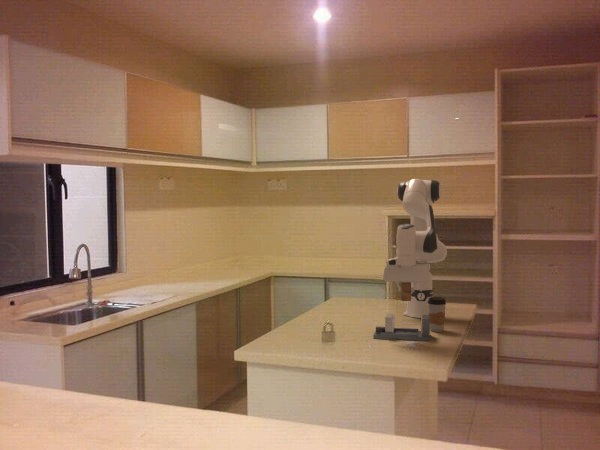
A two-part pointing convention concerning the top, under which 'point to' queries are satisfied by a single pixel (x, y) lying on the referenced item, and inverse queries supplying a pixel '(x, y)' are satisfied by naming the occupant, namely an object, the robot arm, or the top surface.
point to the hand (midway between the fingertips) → (406, 291)
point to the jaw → (387, 324)
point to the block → (406, 291)
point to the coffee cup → (437, 313)
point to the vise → (408, 332)
